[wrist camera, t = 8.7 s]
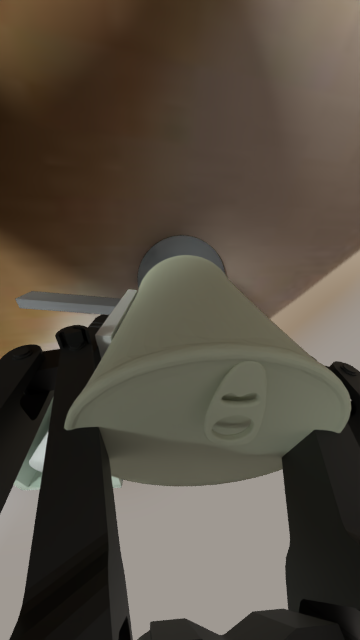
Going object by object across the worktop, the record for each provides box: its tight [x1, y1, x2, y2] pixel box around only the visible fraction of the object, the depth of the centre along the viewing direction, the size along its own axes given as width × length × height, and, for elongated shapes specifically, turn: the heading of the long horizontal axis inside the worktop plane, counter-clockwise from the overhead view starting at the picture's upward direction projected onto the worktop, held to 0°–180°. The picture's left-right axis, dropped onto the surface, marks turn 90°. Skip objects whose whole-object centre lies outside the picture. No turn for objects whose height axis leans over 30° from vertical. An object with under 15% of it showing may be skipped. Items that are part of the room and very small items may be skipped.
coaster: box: [138, 235, 225, 288], centre depth 20 cm, size 11×11×1 cm
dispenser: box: [13, 291, 123, 490], centre depth 21 cm, size 24×13×13 cm, turn 174°
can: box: [64, 255, 351, 486], centre depth 10 cm, size 9×9×12 cm
